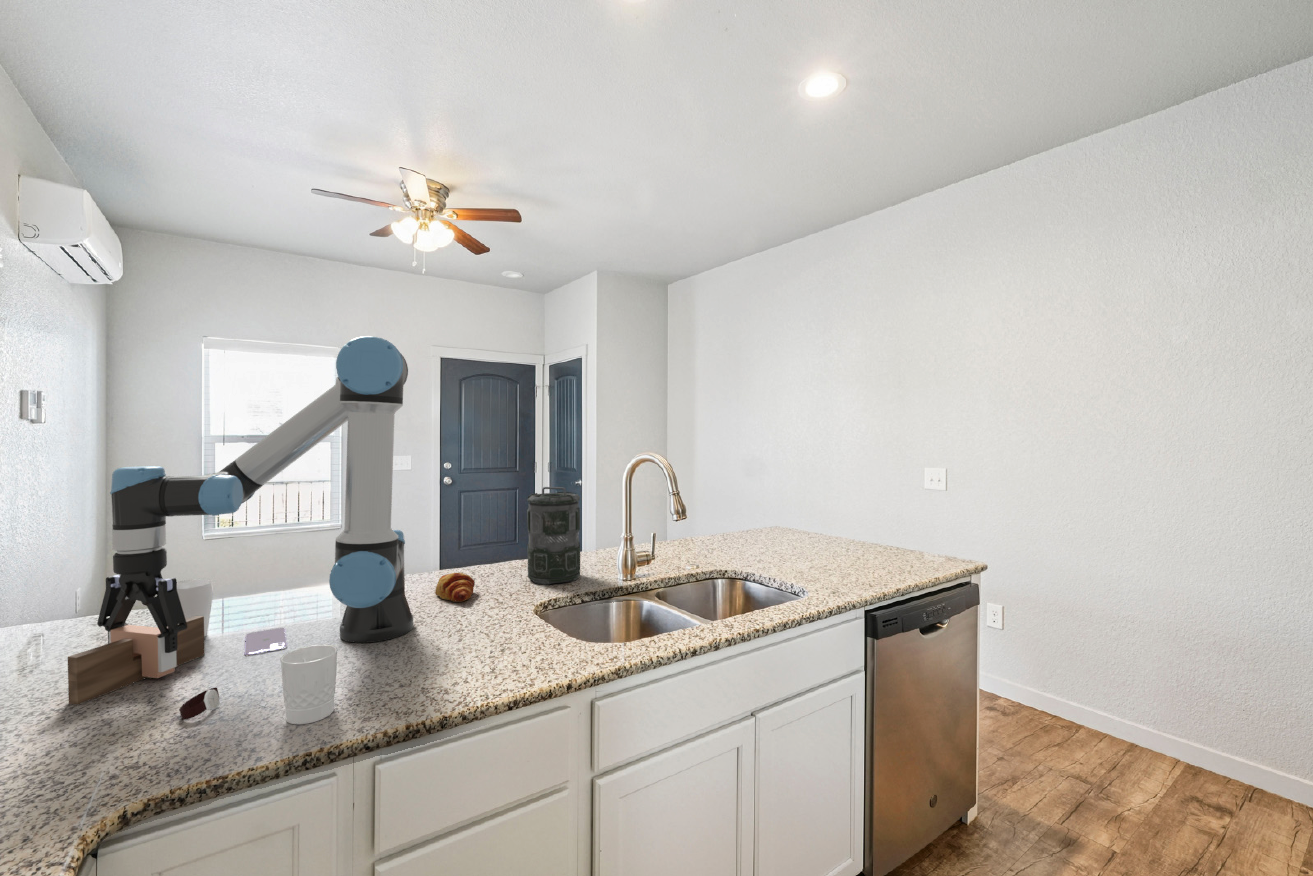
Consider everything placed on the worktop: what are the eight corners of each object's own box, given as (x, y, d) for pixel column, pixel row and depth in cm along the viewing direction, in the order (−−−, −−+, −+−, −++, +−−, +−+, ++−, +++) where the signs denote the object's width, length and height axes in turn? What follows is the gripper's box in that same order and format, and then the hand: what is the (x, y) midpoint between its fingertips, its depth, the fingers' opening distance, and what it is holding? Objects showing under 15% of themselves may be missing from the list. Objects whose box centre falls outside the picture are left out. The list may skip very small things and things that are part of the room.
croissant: (436, 600, 171) (422, 577, 169) (467, 579, 175) (454, 557, 173) (454, 618, 153) (439, 593, 151) (488, 595, 158) (473, 570, 156)
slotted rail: (204, 655, 121) (203, 616, 121) (77, 705, 100) (76, 657, 99) (196, 654, 121) (196, 615, 121) (68, 703, 100) (67, 656, 100)
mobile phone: (285, 625, 137) (287, 645, 124) (285, 630, 137) (287, 650, 124) (245, 632, 133) (243, 653, 120) (245, 636, 133) (243, 658, 120)
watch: (204, 721, 94) (204, 698, 94) (170, 724, 93) (169, 702, 93) (227, 699, 102) (227, 678, 102) (196, 702, 101) (195, 681, 101)
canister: (519, 584, 174) (518, 489, 173) (538, 571, 190) (538, 484, 189) (571, 586, 171) (570, 490, 171) (586, 573, 187) (586, 484, 186)
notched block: (174, 671, 111) (173, 629, 111) (157, 678, 108) (156, 634, 108) (129, 666, 113) (128, 624, 113) (111, 672, 110) (110, 630, 110)
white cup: (297, 704, 100) (296, 645, 99) (346, 702, 100) (345, 643, 100) (271, 728, 92) (270, 664, 92) (324, 725, 92) (323, 662, 92)
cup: (185, 647, 125) (183, 591, 125) (150, 644, 127) (149, 588, 127) (224, 632, 134) (223, 580, 134) (191, 629, 136) (190, 578, 136)
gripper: (210, 548, 111) (212, 664, 111) (114, 542, 116) (117, 653, 117) (168, 556, 104) (171, 681, 104) (69, 550, 109) (72, 668, 109)
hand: (143, 666), depth 110 cm, fingers closed on notched block, 11 cm apart
